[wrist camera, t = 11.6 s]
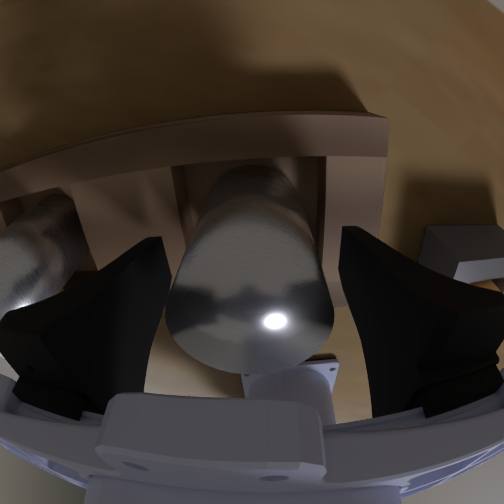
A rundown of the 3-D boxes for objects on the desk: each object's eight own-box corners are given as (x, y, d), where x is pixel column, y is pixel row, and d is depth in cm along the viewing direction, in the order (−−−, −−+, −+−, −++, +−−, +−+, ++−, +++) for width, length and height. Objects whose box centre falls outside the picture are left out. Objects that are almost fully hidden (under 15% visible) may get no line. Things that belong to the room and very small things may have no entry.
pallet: (354, 277, 18) (365, 303, 15) (37, 286, 19) (22, 306, 17) (368, 112, 12) (388, 118, 10) (-6, 172, 14) (-29, 185, 12)
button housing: (470, 299, 19) (492, 333, 15) (403, 310, 19) (422, 351, 16) (497, 224, 15) (530, 254, 12) (426, 225, 16) (459, 262, 12)
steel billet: (300, 248, 16) (324, 370, 9) (212, 252, 16) (185, 373, 9) (300, 162, 13) (344, 250, 7) (200, 168, 14) (145, 259, 7)
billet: (103, 259, 17) (41, 356, 10) (50, 261, 17) (-11, 342, 10) (80, 187, 14) (-12, 268, 7) (27, 199, 14) (-54, 270, 8)
